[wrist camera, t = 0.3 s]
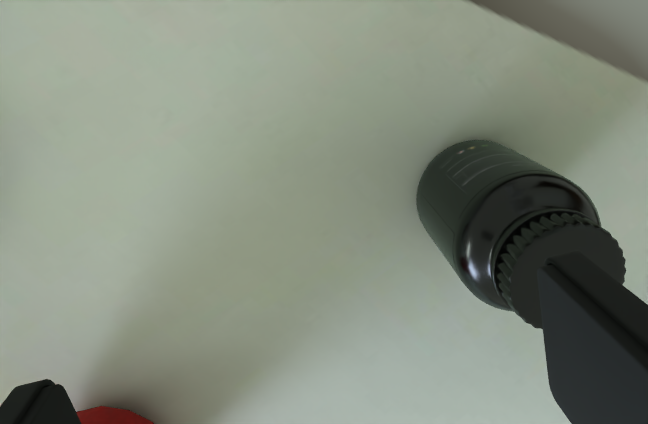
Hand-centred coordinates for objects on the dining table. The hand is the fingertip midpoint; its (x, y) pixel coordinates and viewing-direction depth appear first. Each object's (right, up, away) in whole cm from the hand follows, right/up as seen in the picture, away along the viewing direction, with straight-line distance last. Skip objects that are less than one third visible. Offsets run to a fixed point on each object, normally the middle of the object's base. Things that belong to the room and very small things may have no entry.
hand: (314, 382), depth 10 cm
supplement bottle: (+9, +5, +22) cm, 25 cm away
